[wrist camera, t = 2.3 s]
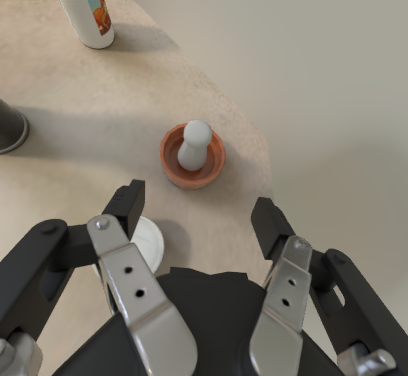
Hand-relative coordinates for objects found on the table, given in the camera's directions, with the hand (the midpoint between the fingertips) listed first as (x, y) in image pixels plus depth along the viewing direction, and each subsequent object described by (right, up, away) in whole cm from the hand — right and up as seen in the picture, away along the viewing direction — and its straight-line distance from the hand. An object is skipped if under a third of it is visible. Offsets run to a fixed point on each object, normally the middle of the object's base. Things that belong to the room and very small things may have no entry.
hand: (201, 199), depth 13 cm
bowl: (-3, +6, +26) cm, 27 cm away
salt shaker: (-3, +6, +26) cm, 27 cm away
